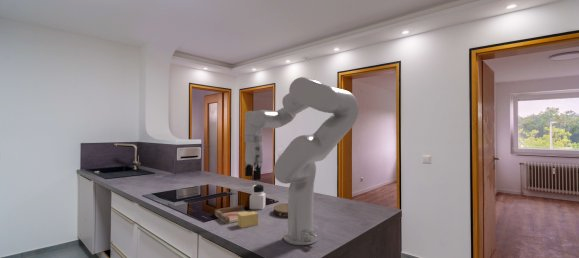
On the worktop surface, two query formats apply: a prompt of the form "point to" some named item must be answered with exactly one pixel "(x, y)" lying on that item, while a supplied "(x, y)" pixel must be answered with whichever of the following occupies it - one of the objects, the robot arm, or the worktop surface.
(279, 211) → the tan flat round disc
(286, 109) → the robot arm
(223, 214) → the tray
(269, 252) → the worktop surface
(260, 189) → the medicine bottle
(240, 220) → the mustard block
